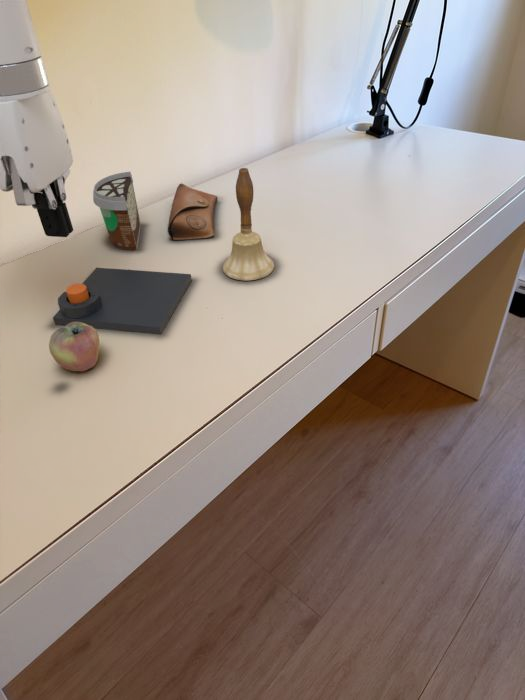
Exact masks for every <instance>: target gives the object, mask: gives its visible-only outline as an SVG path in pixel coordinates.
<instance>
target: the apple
mask: <svg viewBox="0 0 525 700" xmlns="http://www.w3.org/2000/svg"><path fill="white" fill-rule="evenodd" d="M99 336H100V335H99V333H98V331H97V329H96V328H93V327H92V326H89V325H87V324H85V323H82V322H71V323H69V324H68V325H64V326H62V327H57V329H55V330H54V331H53V332H52V334H51V336H50V338H49V342H48V350H49V353H50V355H51V356H52V358H53V360H54V361H55V362H56V363H57V364H58V365H59V366H60V367H61V368H62V369H64V370H68V371H71V372H85V371H87V370H90V369H92V368H94V367H95V366H96V364H97V363H98V358H99V353H100V337H99Z"/></svg>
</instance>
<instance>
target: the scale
mask: <svg viewBox="0 0 525 700" xmlns="http://www.w3.org/2000/svg"><path fill="white" fill-rule="evenodd" d="M192 281H193V280H192V274H191V273H180V272H166V271H153V270H152V271H151V270H139V269H122V268H109V267H108V268H107V267H95V268H94V269H93V271H91V272H90V274H89V275H88V276H87V277H86V278H85V280H84V281H83V282H81V284H84V285H86V288H87V291H88V294H89V299H88V300H86V301H84V302H82V303H77V304H73V303H70V302H69V299H68V296H67V293H66V290H65V291H63V292H62V293H61V294H60V295H59V297H58V298H57V305H58V308H59V310H58V311H57V312H56V313H55V314H54V315H53V316H52V320H53V322H54V324H55V325H57V326H58V325H59V326H66V325H68V324H69V323H71V322H82V323H85V324H87V325H89V326H92V327H93V328H94V329H100V330H110V331H111V330H112V331H122V332H131V333H143V334H153V335H154V334H155V335H162V334H163V332H164V330H165V328H166V326H167V325H168V323H169V322H170V319H172V316H173V314H174V313H175V311H176V309H177V307H178V305H180V302H181V301H182V298H183V297H184V295H185V294H186V291H187V290H188V288H189V286H190V285H191V283H192Z"/></svg>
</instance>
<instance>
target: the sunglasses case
mask: <svg viewBox="0 0 525 700" xmlns="http://www.w3.org/2000/svg"><path fill="white" fill-rule="evenodd" d="M217 201H218V196H217V195H215V194H212V193H208V192H205V191H202V190H198V189H195V188H193V187H190V186H187V185H186V184H184V183H179V184H178V186H177V187H176V191H175V193H174V197H173V200H172V204H171V208H170V213H169V218H168V224H167V234H168V236H169V237H170V238H171V239H172V240H173V241H195V240H204V239H209V238H213V237H214V236H215V228H214V226H215V225H214V217H215V216H214V214H215V207H216V203H217Z"/></svg>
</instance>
